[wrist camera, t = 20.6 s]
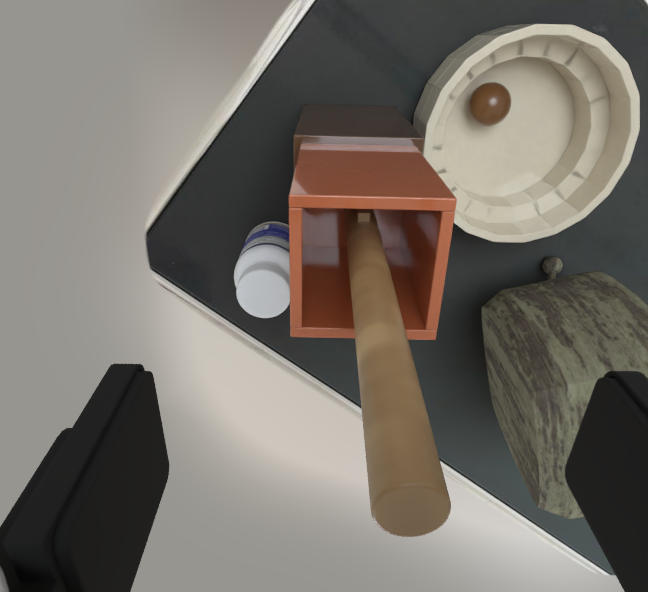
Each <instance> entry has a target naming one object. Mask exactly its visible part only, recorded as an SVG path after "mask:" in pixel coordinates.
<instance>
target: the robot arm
mask: <svg viewBox="0 0 648 592" xmlns="http://www.w3.org/2000/svg"><path fill="white" fill-rule="evenodd" d="M168 474H169V460H168V455H167V449H166V444H165V439H164V433H163V427H162V422H161V417H160V411H159V405H158V400H157V394H156V389H155V383H154V377H153V374H152V372H150V371H145V370H144V368H143V366H142V365H141V364H113V365H111V366H110V367H109V369H108V370H107V372H106V374H105V375H104V377H103V379H102V380H101V382H100V383H99V386H98V387H97V388H96V390H95V392H94V393H93V395H92V397H91V398H90V400H89V402H88V403H87V405H86V406H85V408H84V410H83V411H82V413H81V415H80V416H79V418H78V420H77V421H76V423H75V424H74V426H73V428H67V429H65V430H63V431H62V432H61V433H60V435H59V436H58V437H57V438H56V440H55V442H54V443H53V445H52V446H51V448H50V450H49V451H48V453H47V454H46V456H45V457H44V459H43V461H42V462H41V464H40V465H39V467H38V468H37V470H36V472H35V473H34V475H33V476H32V478H31V480H30V481H29V483H28V484H27V486H26V487H25V489H24V491H23V492H22V494H21V495H20V497H19V498H18V500H17V502H16V503H15V505H14V507H13V508H12V510H11V511H10V513H9V514H8V516H7V517H6V519H5V521H4V522H3V524H2V525H1V527H0V592H130V591H131V588H132V585H133V582H134V578H135V576H136V573H137V570H138V567H139V564H140V561H141V558H142V555H143V552H144V549H145V546H146V542H147V540H148V536H149V534H150V531H151V528H152V525H153V521H154V519H155V515H156V513H157V509H158V507H159V504H160V501H161V498H162V494H163V492H164V489H165V486H166V483H167V479H168ZM565 479H566V483H567V485H568V487H569V489H570V491H571V492H572V494H573V496H574V498H575V500H576V502H577V504H578V506H579V507H580V509H581V511H582V513H583V515H584V517H585V519H586V520H587V522H588V524H589V526H590V528H591V530H592V532H593V533H594V535H595V537H596V539H597V541H598V543H599V545H600V546H601V548H602V550H603V552H604V554H605V556H606V558H607V560H608V561H609V563H610V565H611V567H612V569H613V571H614V573H615V574H616V576H617V578H618V580H619V582H620V584H621V586H622V587H623V589H624V591H625V592H648V378H647V377H646V376H645V375H644V374H642V373H641V372H638V371H609V372H607V373H606V374H605V375H604V377H603V378H599V379H598V380H597V382H596V384H595V386H594V389H593V392H592V395H591V397H590V400H589V403H588V406H587V408H586V411H585V414H584V416H583V419H582V422H581V425H580V427H579V430H578V433H577V436H576V438H575V441H574V444H573V447H572V449H571V452H570V455H569V457H568V460H567V463H566V466H565Z"/></svg>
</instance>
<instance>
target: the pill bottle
mask: <svg viewBox="0 0 648 592" xmlns="http://www.w3.org/2000/svg"><path fill="white" fill-rule="evenodd" d="M234 282H235V286H236V288H237V290H236V294H237V299H238V302H239V304H240V305H241V307H242V308H243V309H244V310H245V311H246V312H248V313H249V314H251V315H253V316H256V317H260V318H271V317H275V316H277V315H279V314H281V313H282V312H283V311H284V310H285V309H286V308H287V307H288V305H289V303H290V263H289V225H287V224H284V223H281V222H265V223H262V224H260V225H258V226H256V227H255V228H254V229H253V230H252V231H251V232H250V233H249V235H248V236H247V238H246V241H245V243H244V246H243V249H242V251H241V254H240V256H239V259H238V261H237V264H236V267H235V270H234Z"/></svg>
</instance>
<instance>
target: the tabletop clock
mask: <svg viewBox="0 0 648 592" xmlns="http://www.w3.org/2000/svg"><path fill="white" fill-rule="evenodd" d="M542 267H543V269H544V271H545V272H546V273H548V274H549V275H548V280H547V281H542V282H538V283H533V284H528V285H523V286H518V287H513V288H509V289H504V290H501V291H499V292H498V293H497V294H496V295H495V296H494V297H493V298H491V299H490V300H489V301H488V302H487V303H486V304H485V305H484V306H482V327H483V337H484V347H485V356H486V364H487V372H488V380H489V387H490V393H491V399H492V404H493V408H494V410H495V413H496V416H497V419H498V422H499V424H500V427H501V430H502V432H503V434H504V437H505V439H506V441H507V444H508V446H509V449H510V451H511V453H512V456H513V458H514V460H515V463H516V465H517V467H518V469H519V471H520V474H521V476H522V478H523V480H524V482H525V485H526V487H527V489H528V491H529V493H530V495H531V497H532V499H533V500H534V502H535V504H536V505H537V507H538V508H541V509H544V510H546V511H549V512H551V513H554V514H556V515H559V516H562V517H564V518H567V519H572V518H579V517H584V515H583V513H582V511H581V509H580V507H579V506H578V504H577V502H576V500H575V498H574V496H573V494H572V492H571V491H570V489H569V487H568V485H567V483H566V479H565V466H566V463H567V460H568V457H569V455H570V452H571V449H572V447H573V444H574V441H575V438H576V436H577V433H578V430H579V427H580V425H581V422H582V419H583V416H584V414H585V411H586V408H587V406H588V403H589V400H590V397H591V395H592V392H593V389H594V386H595V384H596V382H597V380H598V379H599V378H603V377H604V375H605V374H606V373H607V372H609V371H638V372H641V373H642V374H644V375H645V376H646V377H647V378H648V306H647V305H646V304H645V303H644V302H643V301H642V300H641V299H640V298H639V297H638V296H637V295H636V294H635V293H633V292H632V291H631V290H629V289H628V288H626V287H625V286H624V285H622V284H621V283H620V282H618V281H617V280H615V279H614V278H613V277H611V276H609V275H607V274H605V273H603V272H598V271H591V272H586V273H581V274H576V275H571V276H566V277H562V278H557V279H556V274H557V273H559V272H560V271H561V269H562V267H563V264H562V262H561V259H559V258H557V257H548V258H547V259H545V260H544V263H543V265H542Z"/></svg>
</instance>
